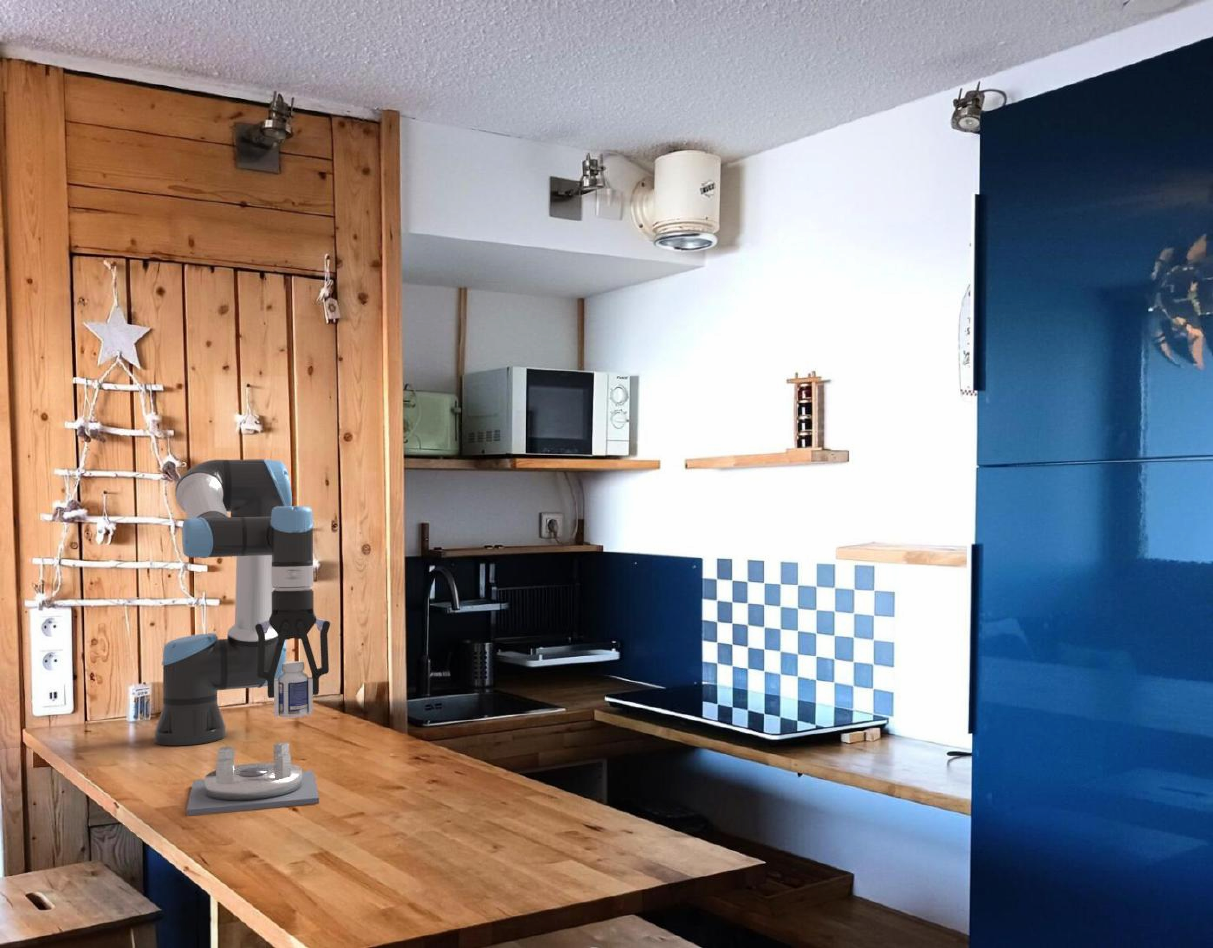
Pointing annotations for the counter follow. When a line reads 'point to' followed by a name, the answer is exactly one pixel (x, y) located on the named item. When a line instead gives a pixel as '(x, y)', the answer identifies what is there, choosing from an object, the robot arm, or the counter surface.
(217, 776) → the grey shallow round piece
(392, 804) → the counter surface
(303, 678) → the pill bottle
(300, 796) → the grey square plate
